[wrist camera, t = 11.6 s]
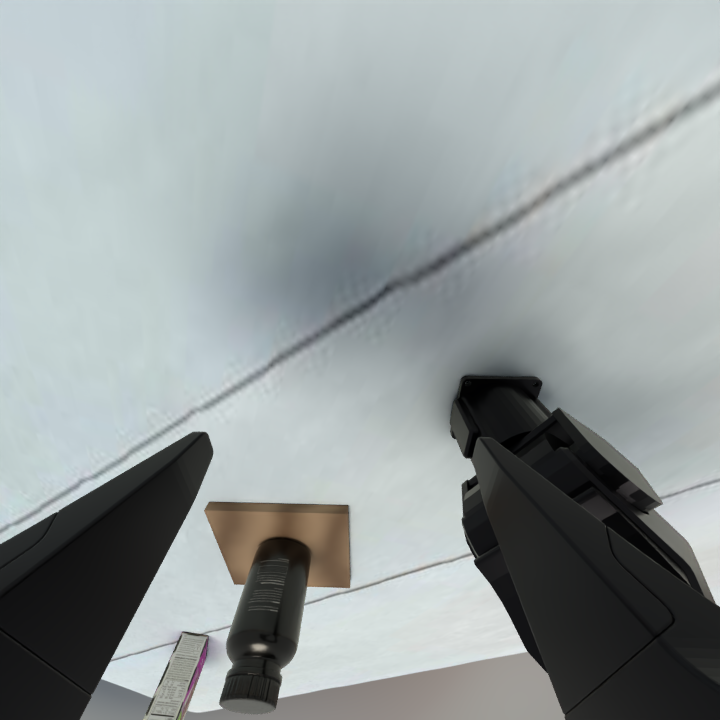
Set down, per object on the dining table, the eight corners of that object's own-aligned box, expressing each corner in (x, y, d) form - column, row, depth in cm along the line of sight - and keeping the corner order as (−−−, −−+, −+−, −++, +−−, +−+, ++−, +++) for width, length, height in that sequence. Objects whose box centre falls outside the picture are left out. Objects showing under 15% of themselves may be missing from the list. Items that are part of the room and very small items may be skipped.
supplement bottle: (248, 555, 34) (193, 708, 23) (271, 529, 31) (221, 688, 21) (297, 573, 36) (266, 723, 25) (322, 549, 33) (301, 706, 22)
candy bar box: (208, 658, 53) (146, 825, 38) (181, 654, 52) (108, 822, 37) (210, 635, 48) (141, 817, 33) (181, 630, 47) (98, 814, 32)
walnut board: (348, 505, 31) (347, 514, 30) (350, 579, 38) (349, 587, 37) (208, 502, 31) (204, 510, 30) (237, 575, 38) (234, 584, 37)
